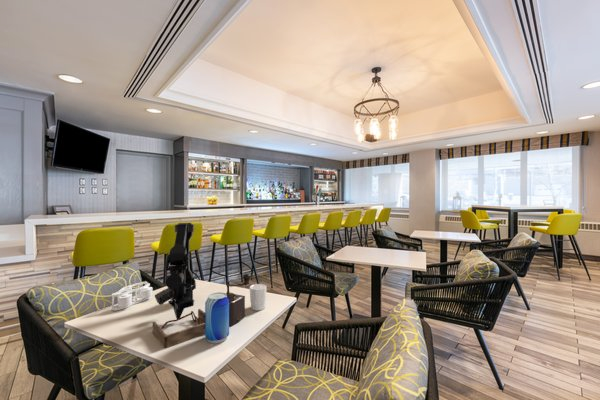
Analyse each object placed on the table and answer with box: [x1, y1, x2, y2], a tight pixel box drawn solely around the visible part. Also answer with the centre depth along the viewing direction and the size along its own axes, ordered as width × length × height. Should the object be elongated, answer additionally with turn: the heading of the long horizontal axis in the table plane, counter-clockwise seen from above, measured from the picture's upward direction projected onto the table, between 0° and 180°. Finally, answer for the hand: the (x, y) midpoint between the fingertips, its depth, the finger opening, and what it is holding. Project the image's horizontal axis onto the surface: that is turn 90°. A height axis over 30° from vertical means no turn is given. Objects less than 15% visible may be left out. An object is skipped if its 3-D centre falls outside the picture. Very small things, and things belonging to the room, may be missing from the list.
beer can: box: [204, 292, 230, 344], centre depth 100 cm, size 8×8×16 cm
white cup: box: [249, 283, 268, 311], centre depth 128 cm, size 8×8×10 cm
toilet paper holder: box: [111, 281, 153, 311], centre depth 135 cm, size 20×11×7 cm, turn 156°
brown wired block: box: [152, 308, 205, 349], centre depth 105 cm, size 19×15×4 cm
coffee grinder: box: [224, 273, 252, 328], centre depth 118 cm, size 16×11×18 cm
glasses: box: [160, 310, 203, 330], centre depth 107 cm, size 13×13×5 cm
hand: (177, 318), depth 113 cm, fingers closed
